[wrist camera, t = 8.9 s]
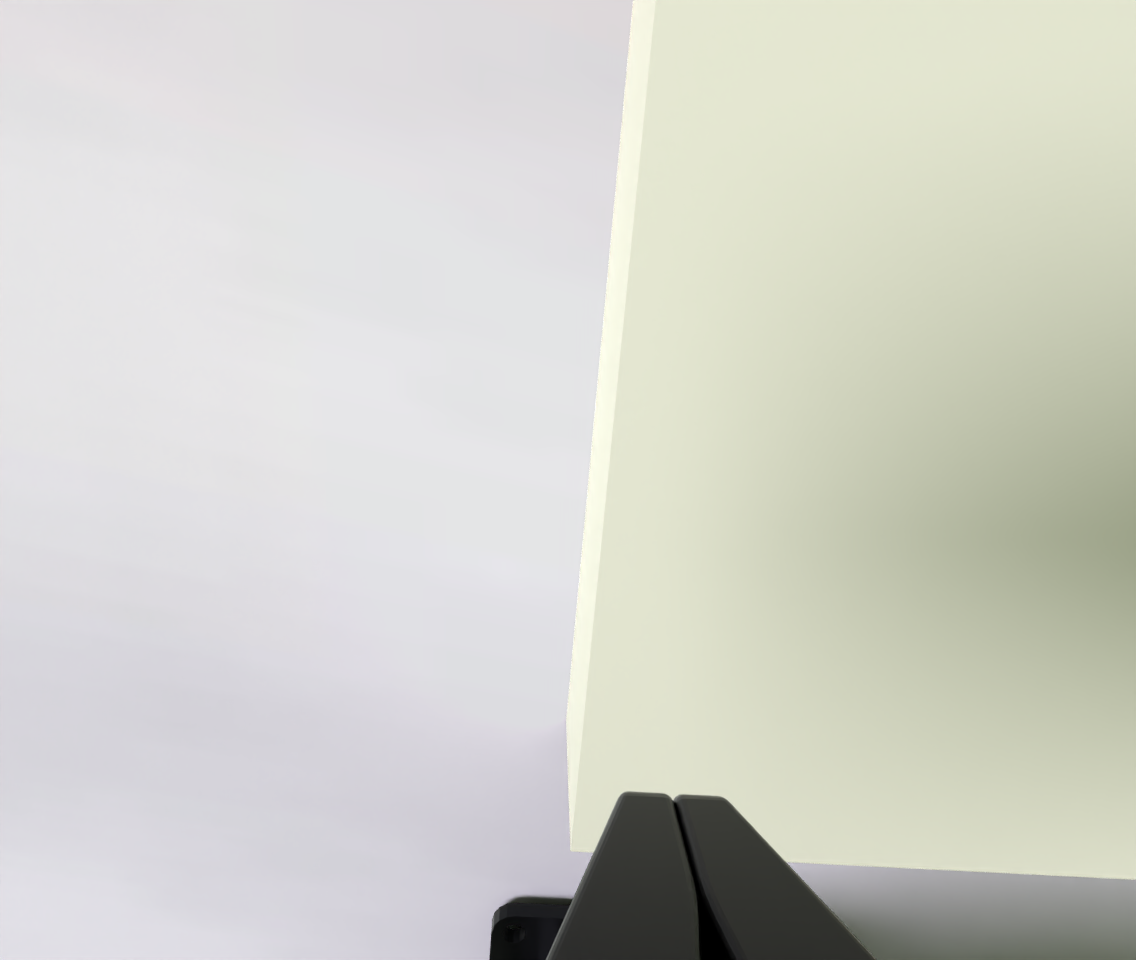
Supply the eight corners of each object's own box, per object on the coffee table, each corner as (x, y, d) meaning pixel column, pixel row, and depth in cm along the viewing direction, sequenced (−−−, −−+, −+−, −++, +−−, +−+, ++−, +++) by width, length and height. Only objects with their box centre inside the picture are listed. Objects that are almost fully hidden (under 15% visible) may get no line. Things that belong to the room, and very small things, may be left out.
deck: (1125, 750, 23) (1238, 884, 19) (566, 718, 22) (570, 851, 19) (1494, -396, 16) (1792, -539, 12) (678, -487, 15) (722, -665, 11)
